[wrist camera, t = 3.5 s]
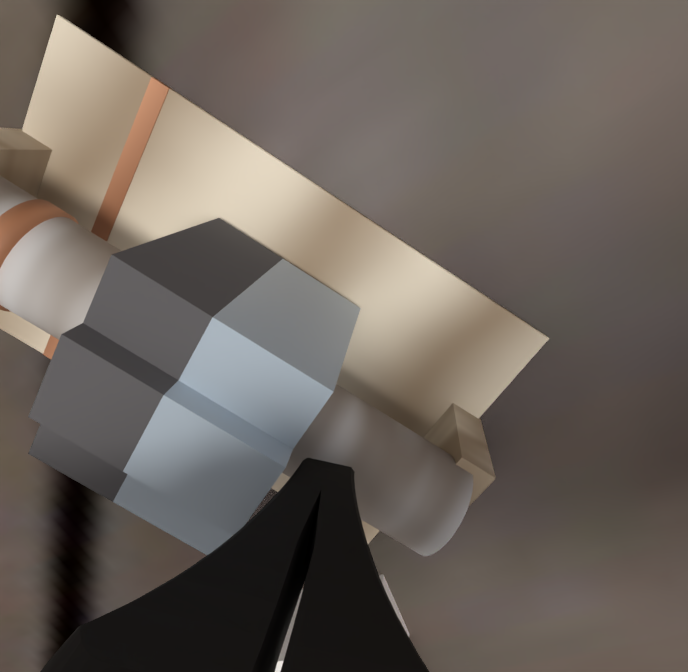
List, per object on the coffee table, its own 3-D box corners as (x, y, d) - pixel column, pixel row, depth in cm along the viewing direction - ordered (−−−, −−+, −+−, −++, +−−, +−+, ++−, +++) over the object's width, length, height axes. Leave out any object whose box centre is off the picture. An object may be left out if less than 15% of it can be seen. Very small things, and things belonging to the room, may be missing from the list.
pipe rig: (549, 338, 16) (608, 416, 11) (369, 542, 20) (356, 663, 15) (58, 14, 14) (-114, -53, 10) (-31, 306, 18) (-182, 359, 14)
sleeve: (360, 308, 16) (328, 407, 10) (274, 434, 18) (204, 581, 12) (282, 258, 16) (199, 328, 10) (205, 393, 18) (96, 521, 12)
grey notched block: (282, 258, 16) (199, 328, 10) (205, 393, 18) (96, 521, 12) (219, 217, 16) (90, 261, 9) (148, 358, 18) (6, 470, 11)
